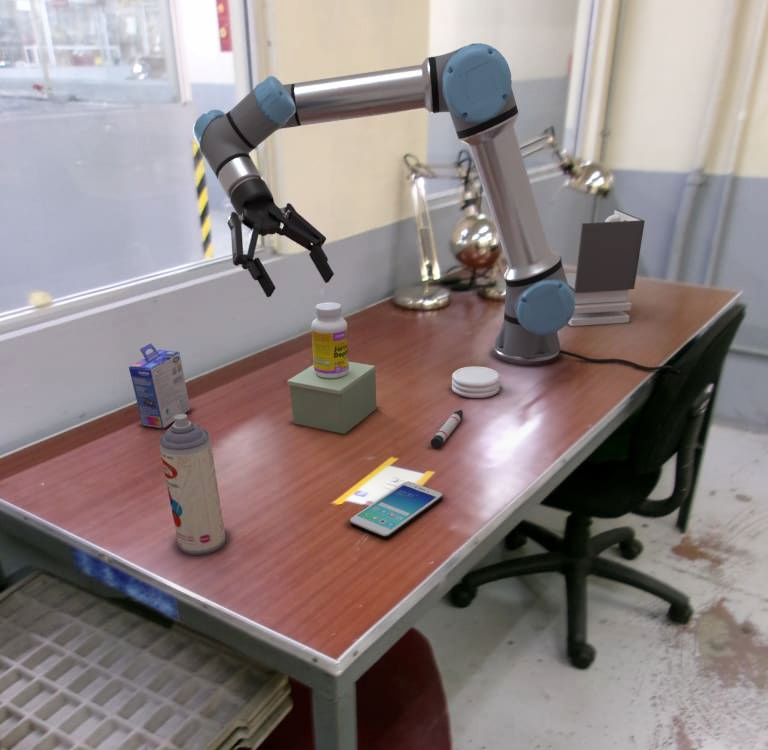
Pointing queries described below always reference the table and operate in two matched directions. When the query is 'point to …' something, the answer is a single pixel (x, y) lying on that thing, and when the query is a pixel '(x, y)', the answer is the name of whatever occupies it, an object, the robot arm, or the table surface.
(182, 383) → the ink cartridge box
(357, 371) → the lid
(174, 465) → the aerosol can
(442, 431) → the marker
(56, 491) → the table surface
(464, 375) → the coaster
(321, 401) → the chest
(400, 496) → the smartphone
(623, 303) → the stack of books
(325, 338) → the supplement bottle
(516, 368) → the table surface
